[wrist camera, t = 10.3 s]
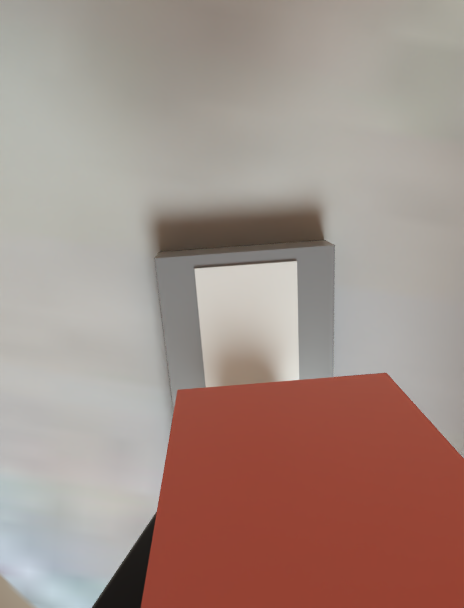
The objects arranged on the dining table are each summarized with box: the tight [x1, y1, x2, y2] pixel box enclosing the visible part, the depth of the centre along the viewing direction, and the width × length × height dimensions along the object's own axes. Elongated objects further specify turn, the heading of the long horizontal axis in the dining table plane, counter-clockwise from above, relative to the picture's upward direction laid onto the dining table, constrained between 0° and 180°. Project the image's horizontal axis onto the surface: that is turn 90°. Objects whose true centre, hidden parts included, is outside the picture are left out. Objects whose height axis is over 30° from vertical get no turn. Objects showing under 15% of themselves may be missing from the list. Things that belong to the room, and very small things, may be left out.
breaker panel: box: [154, 240, 335, 412], centre depth 18 cm, size 17×7×3 cm, turn 4°
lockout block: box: [141, 373, 464, 608], centre depth 6 cm, size 4×4×5 cm
